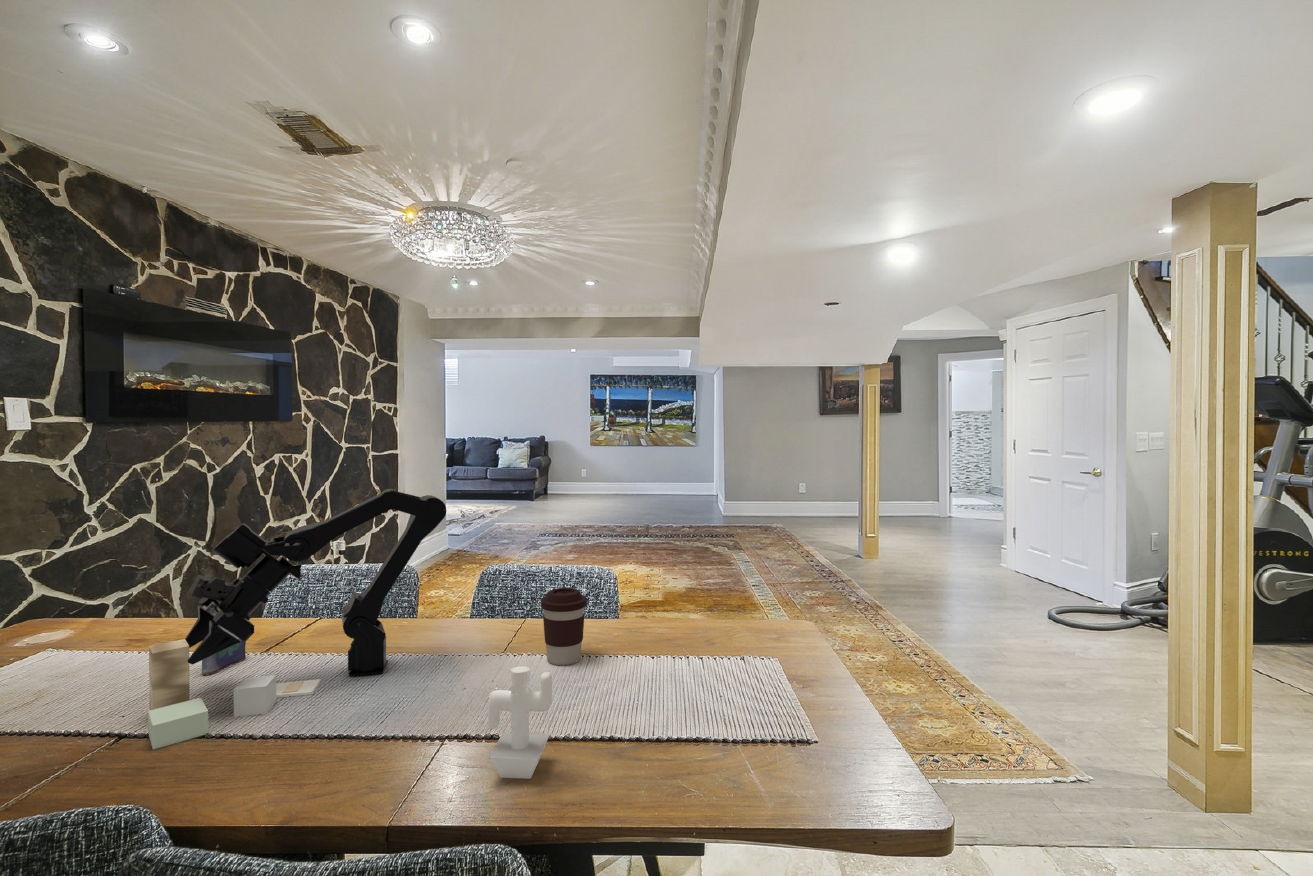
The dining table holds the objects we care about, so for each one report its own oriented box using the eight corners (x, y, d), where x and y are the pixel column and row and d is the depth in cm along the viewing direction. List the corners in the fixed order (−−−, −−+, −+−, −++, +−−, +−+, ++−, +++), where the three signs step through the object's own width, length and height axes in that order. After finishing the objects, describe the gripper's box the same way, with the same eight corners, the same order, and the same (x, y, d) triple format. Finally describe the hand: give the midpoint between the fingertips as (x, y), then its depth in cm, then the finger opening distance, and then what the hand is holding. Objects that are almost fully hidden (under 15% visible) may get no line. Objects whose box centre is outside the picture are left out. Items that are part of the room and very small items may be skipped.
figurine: (496, 755, 92) (496, 658, 92) (557, 757, 91) (557, 659, 91) (480, 783, 85) (479, 677, 84) (545, 785, 84) (545, 679, 84)
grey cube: (276, 702, 110) (276, 675, 110) (266, 714, 105) (266, 686, 105) (245, 705, 109) (245, 677, 109) (233, 718, 104) (233, 689, 104)
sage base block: (201, 720, 103) (200, 697, 103) (208, 735, 98) (208, 710, 98) (148, 735, 98) (147, 711, 98) (153, 751, 94) (152, 725, 93)
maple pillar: (185, 704, 109) (184, 639, 109) (189, 713, 105) (189, 646, 105) (149, 713, 105) (149, 646, 105) (152, 723, 102) (152, 653, 102)
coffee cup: (565, 672, 124) (565, 600, 123) (531, 662, 129) (531, 592, 129) (596, 657, 132) (596, 589, 132) (562, 648, 137) (562, 583, 137)
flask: (209, 676, 121) (209, 619, 121) (196, 675, 122) (195, 619, 122) (249, 658, 131) (249, 605, 131) (237, 657, 132) (236, 605, 132)
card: (320, 681, 119) (320, 678, 119) (312, 694, 113) (312, 690, 113) (275, 686, 117) (275, 682, 117) (264, 699, 111) (264, 695, 111)
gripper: (212, 551, 117) (138, 619, 109) (232, 566, 104) (149, 645, 96) (260, 584, 123) (192, 651, 115) (284, 603, 110) (209, 680, 102)
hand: (185, 656), depth 107 cm, fingers open, 9 cm apart
